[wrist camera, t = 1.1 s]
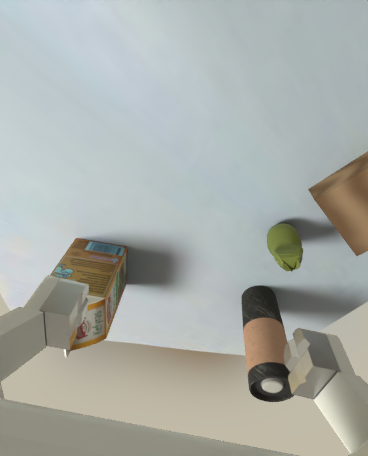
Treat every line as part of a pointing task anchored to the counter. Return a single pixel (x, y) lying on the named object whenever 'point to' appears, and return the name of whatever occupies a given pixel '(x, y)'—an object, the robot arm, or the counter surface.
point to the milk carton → (95, 285)
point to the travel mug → (265, 345)
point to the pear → (285, 246)
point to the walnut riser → (347, 202)
